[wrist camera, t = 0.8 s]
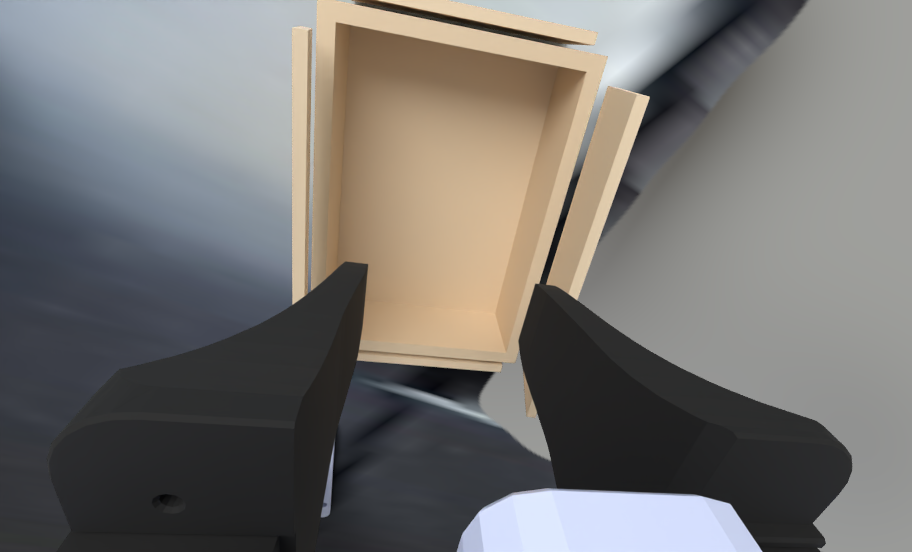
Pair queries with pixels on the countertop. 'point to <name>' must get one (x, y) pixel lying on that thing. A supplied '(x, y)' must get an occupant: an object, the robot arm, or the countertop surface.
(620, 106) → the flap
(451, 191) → the carton
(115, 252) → the countertop surface
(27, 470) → the countertop surface
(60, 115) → the countertop surface
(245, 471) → the robot arm
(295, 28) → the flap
